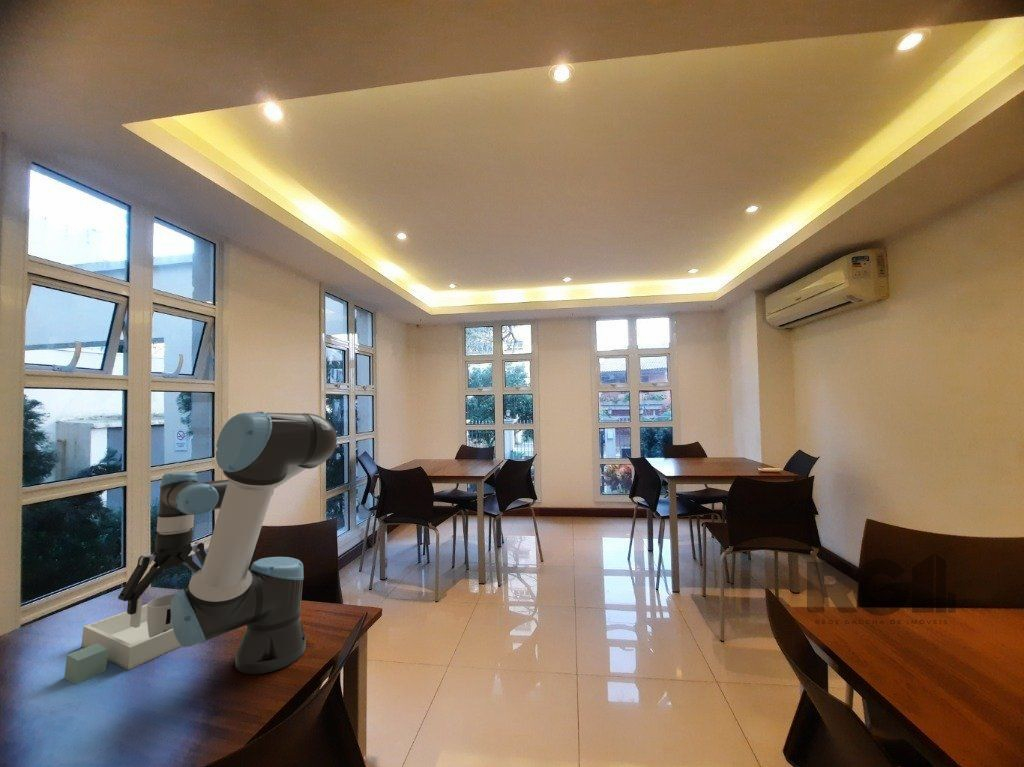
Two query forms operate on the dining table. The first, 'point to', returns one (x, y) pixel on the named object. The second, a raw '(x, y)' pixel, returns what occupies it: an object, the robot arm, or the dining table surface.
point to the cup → (159, 615)
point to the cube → (86, 663)
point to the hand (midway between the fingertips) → (167, 614)
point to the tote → (128, 639)
